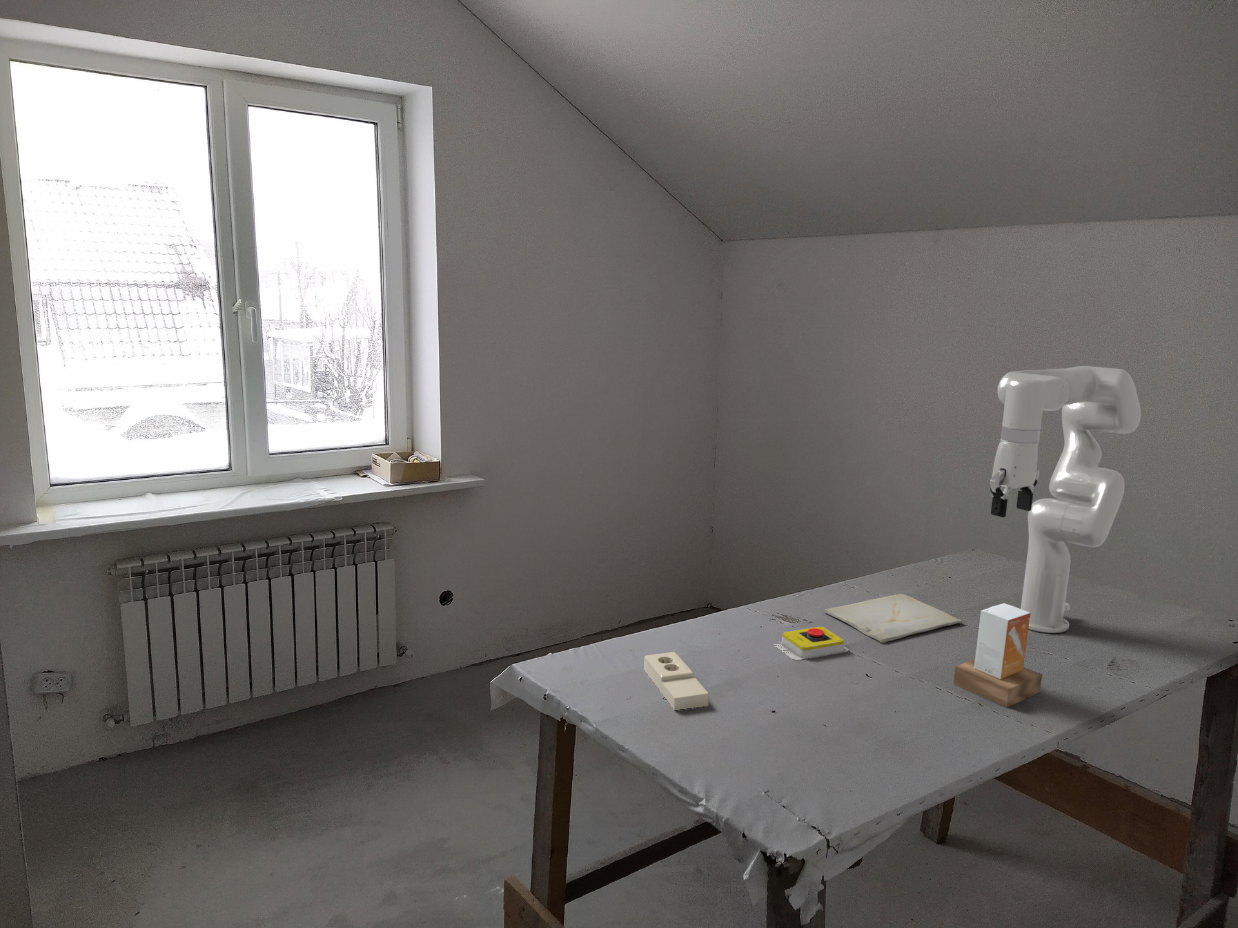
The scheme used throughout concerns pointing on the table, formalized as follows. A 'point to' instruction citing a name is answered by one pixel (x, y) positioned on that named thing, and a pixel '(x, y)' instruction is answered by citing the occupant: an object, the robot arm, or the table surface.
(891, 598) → the decorative slab
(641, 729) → the table surface
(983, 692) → the walnut base
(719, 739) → the table surface
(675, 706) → the electrical outlet
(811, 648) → the emergency button
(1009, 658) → the small box
